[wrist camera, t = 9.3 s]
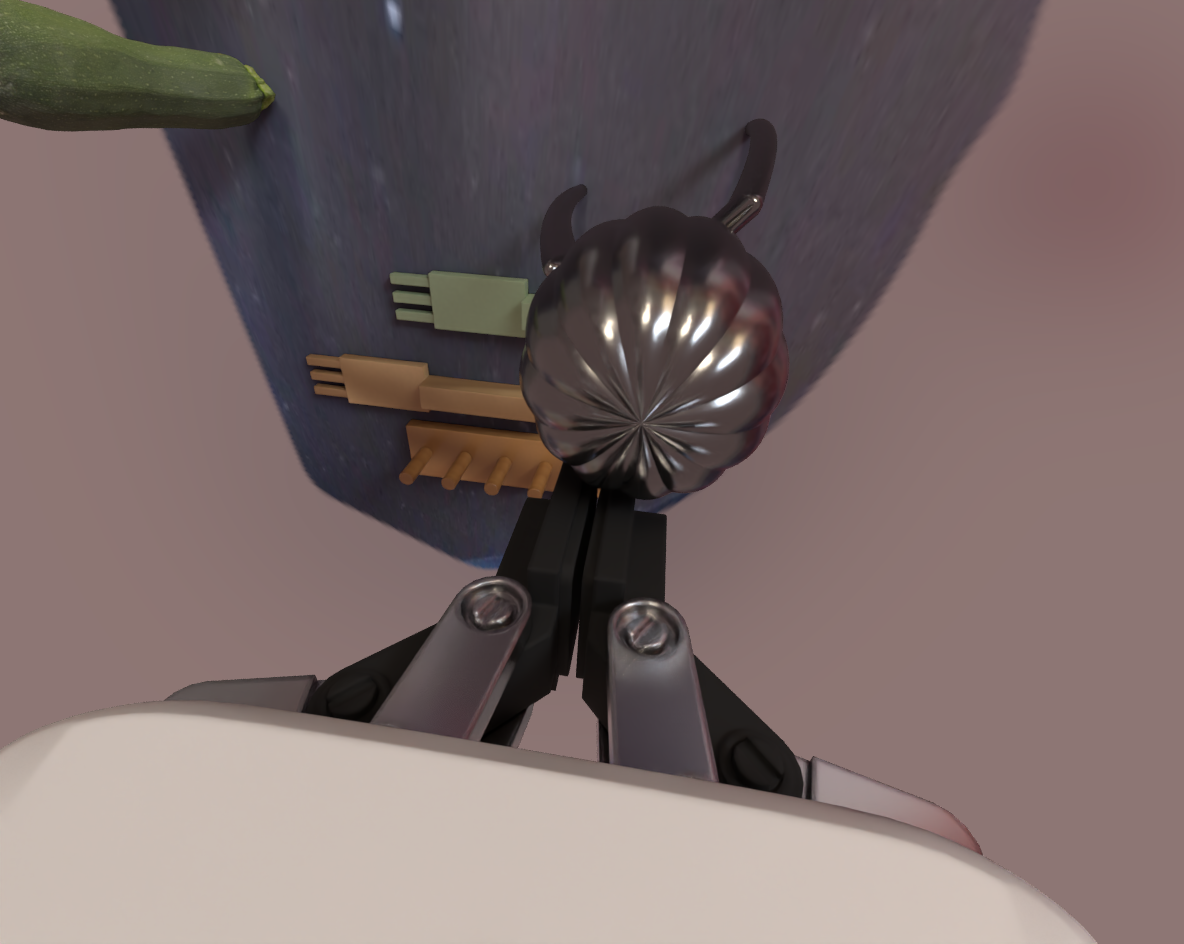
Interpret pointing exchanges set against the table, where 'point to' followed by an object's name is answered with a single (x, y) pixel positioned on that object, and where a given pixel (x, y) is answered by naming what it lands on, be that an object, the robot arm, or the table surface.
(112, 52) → the vegetable
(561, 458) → the juicer
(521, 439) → the rack
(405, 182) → the table surface
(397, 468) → the table surface
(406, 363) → the birch fork
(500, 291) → the sage fork
